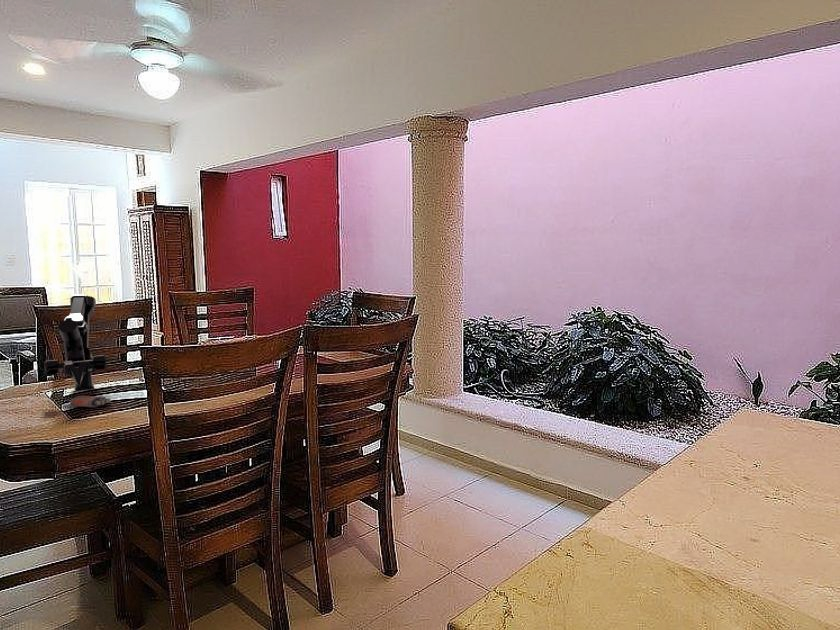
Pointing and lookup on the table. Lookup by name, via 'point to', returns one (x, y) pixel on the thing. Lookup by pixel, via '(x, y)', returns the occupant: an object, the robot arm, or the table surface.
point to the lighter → (88, 401)
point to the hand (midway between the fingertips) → (78, 384)
